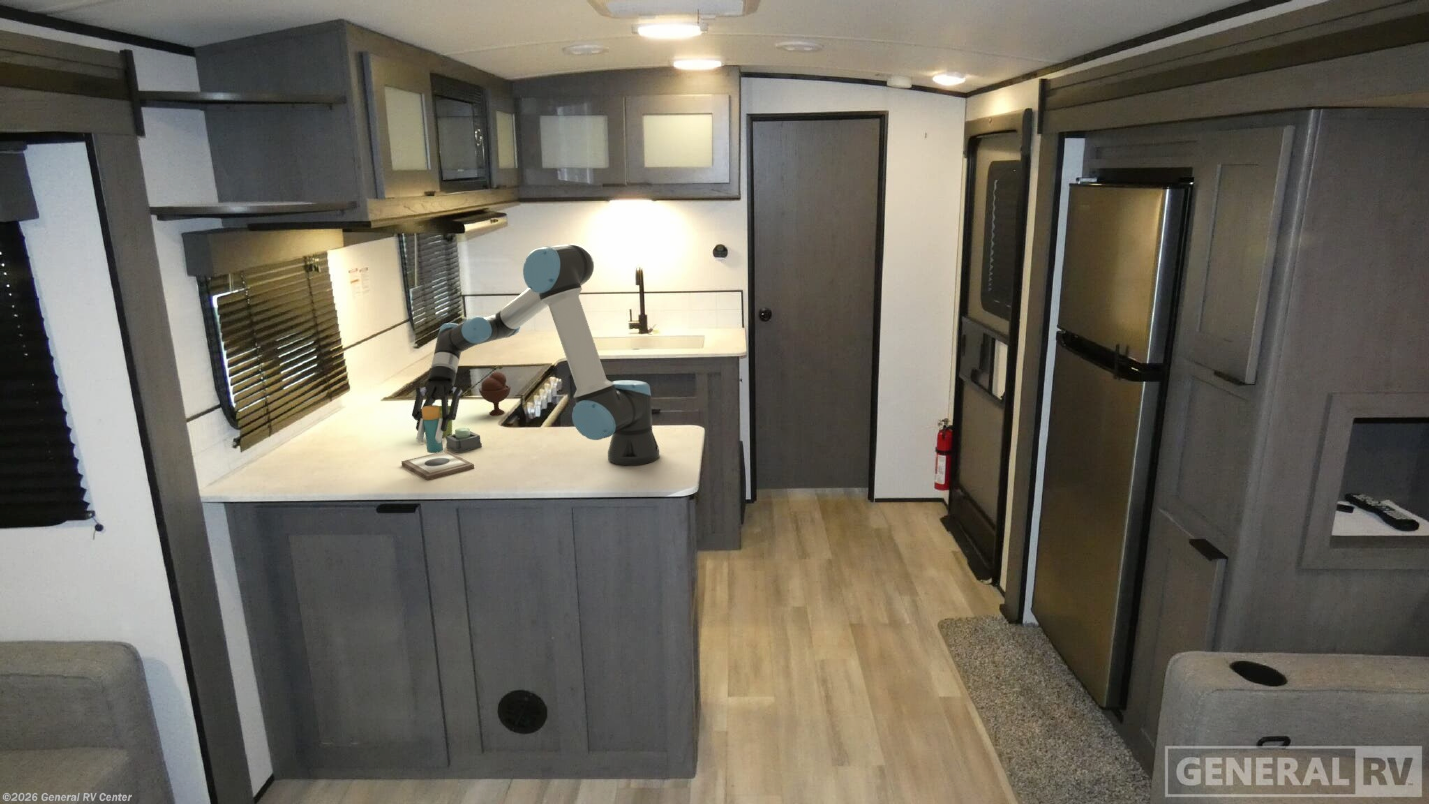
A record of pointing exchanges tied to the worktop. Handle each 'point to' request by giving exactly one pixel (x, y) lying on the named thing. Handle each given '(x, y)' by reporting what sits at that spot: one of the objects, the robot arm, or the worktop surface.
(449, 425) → the plant pot
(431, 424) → the orange-topped post
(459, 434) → the button
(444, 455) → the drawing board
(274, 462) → the worktop surface
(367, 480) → the worktop surface
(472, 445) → the button housing
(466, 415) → the worktop surface
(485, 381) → the ice cream bowl
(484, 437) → the worktop surface
